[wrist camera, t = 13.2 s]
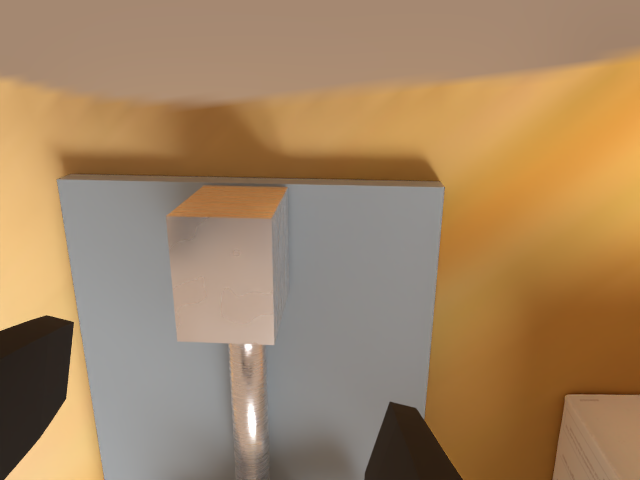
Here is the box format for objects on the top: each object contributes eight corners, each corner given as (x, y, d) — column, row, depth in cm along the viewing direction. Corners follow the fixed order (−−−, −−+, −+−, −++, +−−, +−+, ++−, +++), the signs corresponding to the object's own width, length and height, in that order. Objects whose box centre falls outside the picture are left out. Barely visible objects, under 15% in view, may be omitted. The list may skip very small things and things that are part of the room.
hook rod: (291, 489, 22) (279, 575, 19) (223, 486, 23) (198, 570, 19) (287, 187, 18) (271, 218, 14) (204, 185, 18) (165, 216, 14)
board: (406, 579, 25) (408, 599, 24) (129, 562, 26) (120, 581, 25) (439, 181, 19) (444, 187, 18) (70, 173, 20) (56, 179, 19)
